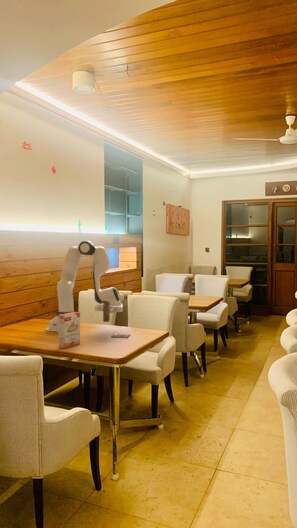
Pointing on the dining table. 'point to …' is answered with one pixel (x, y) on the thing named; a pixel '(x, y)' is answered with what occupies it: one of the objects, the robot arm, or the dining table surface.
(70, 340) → the cracker box
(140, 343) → the dining table surface
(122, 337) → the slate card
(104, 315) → the walnut tube
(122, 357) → the dining table surface
